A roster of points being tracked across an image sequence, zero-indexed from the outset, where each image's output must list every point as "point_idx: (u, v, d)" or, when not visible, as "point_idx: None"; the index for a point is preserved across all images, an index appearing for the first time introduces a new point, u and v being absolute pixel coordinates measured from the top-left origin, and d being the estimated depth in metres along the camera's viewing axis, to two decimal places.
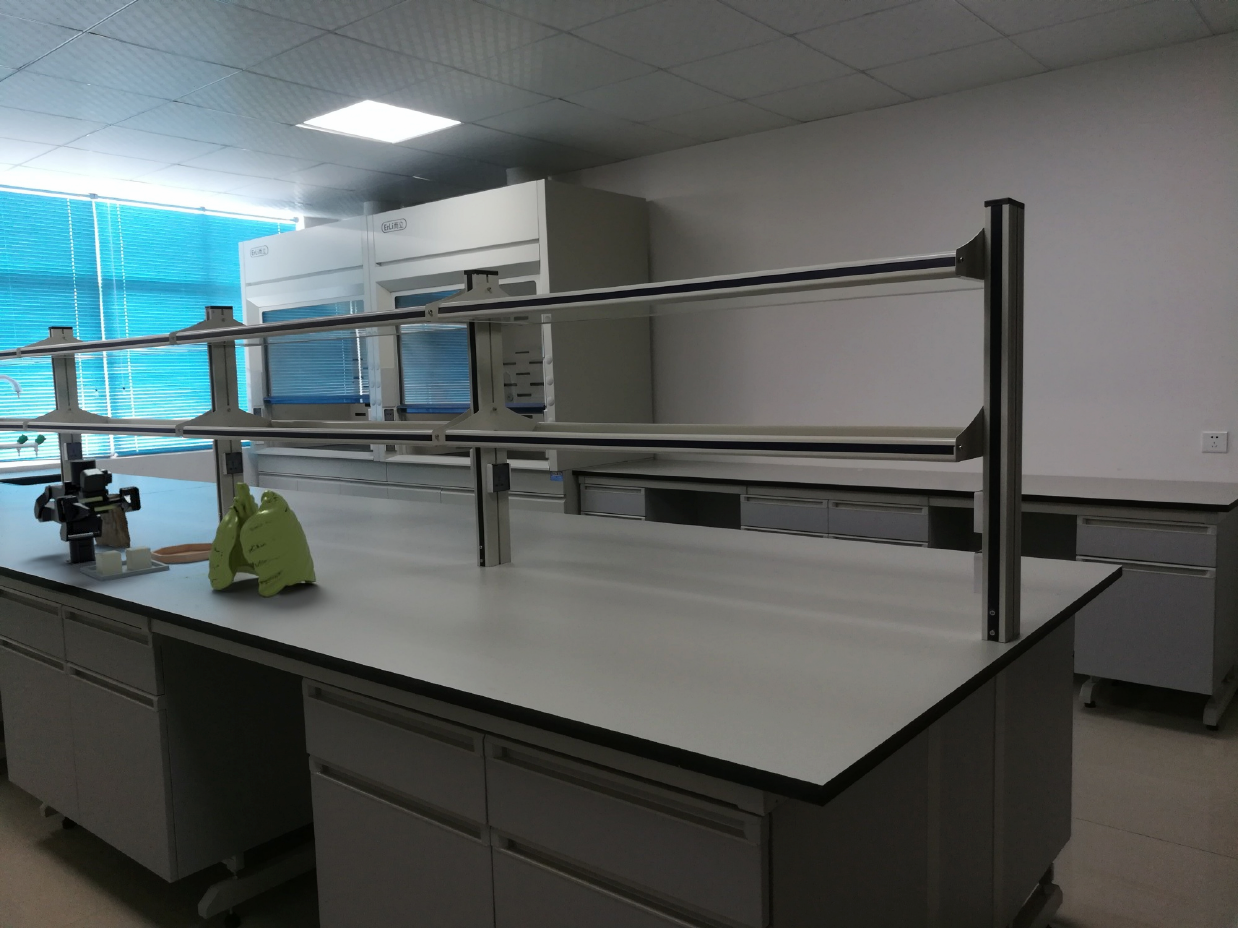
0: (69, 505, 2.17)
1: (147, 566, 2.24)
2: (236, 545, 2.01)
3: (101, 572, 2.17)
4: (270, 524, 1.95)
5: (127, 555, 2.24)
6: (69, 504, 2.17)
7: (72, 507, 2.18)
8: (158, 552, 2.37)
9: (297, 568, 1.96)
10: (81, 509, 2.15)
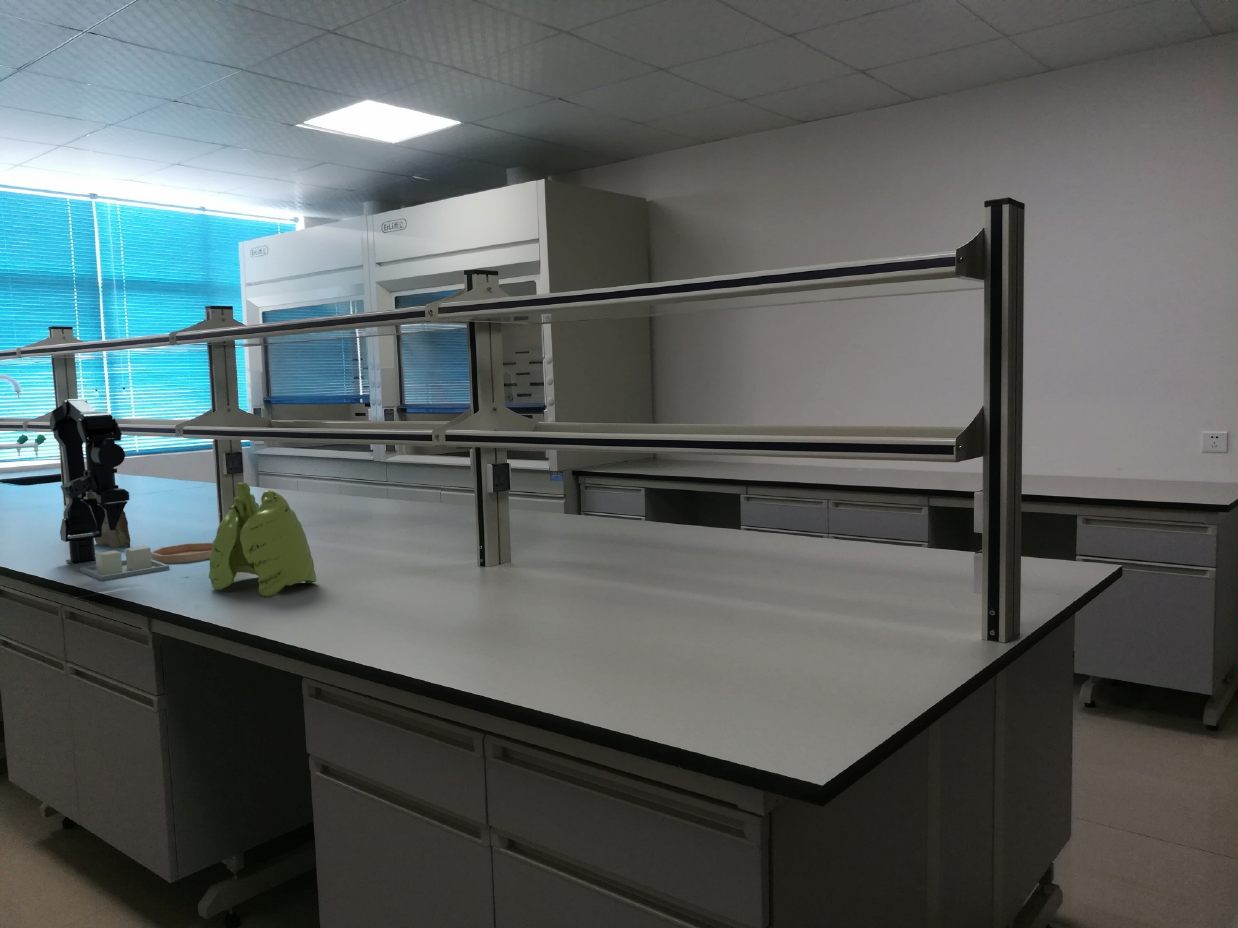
0: None
1: (147, 566, 2.24)
2: (236, 545, 2.02)
3: (101, 572, 2.17)
4: (270, 524, 1.95)
5: (127, 555, 2.24)
6: None
7: None
8: (158, 552, 2.37)
9: (297, 568, 1.96)
10: None
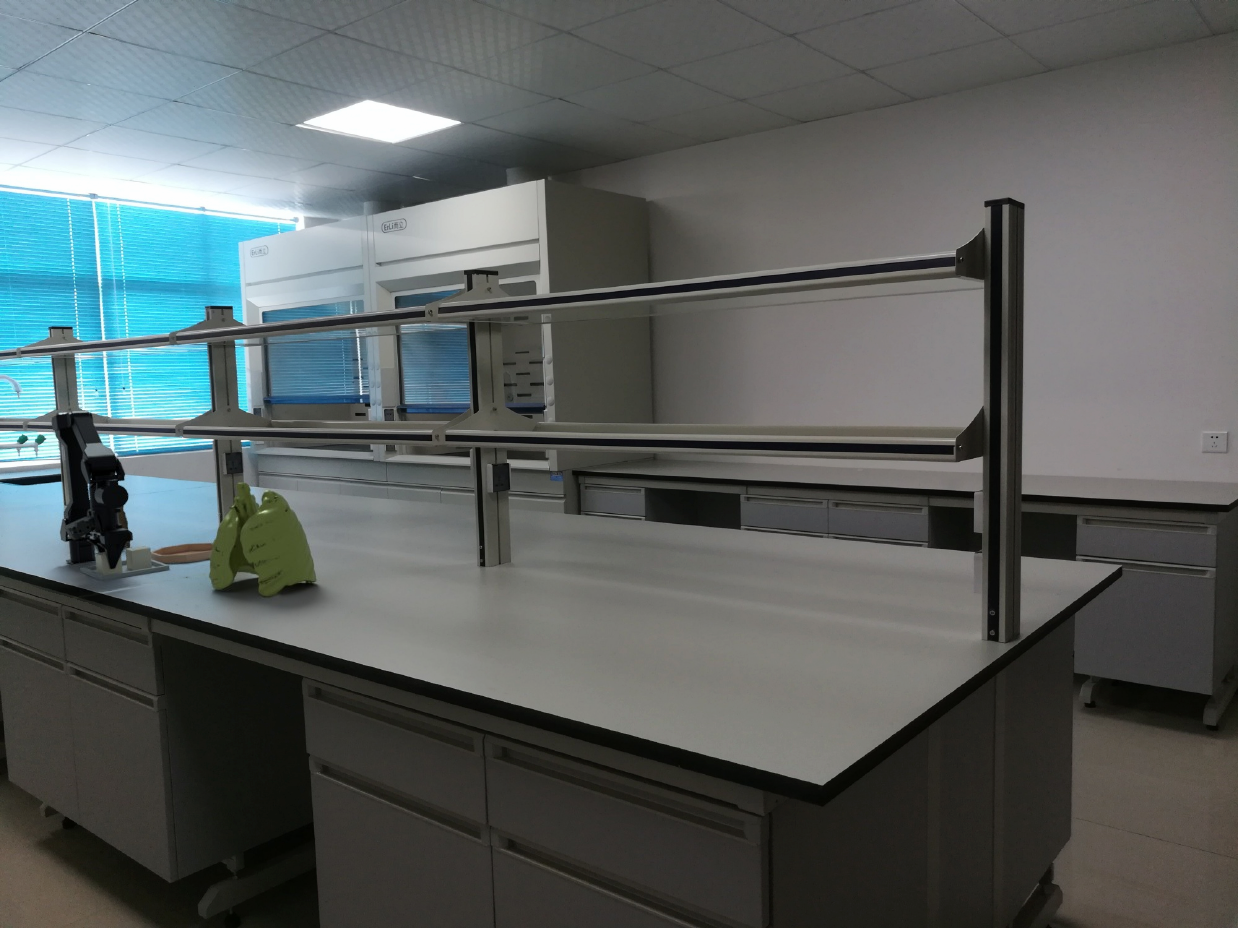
0: None
1: (147, 566, 2.24)
2: (237, 545, 2.02)
3: (101, 572, 2.17)
4: (270, 524, 1.95)
5: (127, 555, 2.24)
6: None
7: None
8: (158, 552, 2.37)
9: (297, 568, 1.96)
10: None
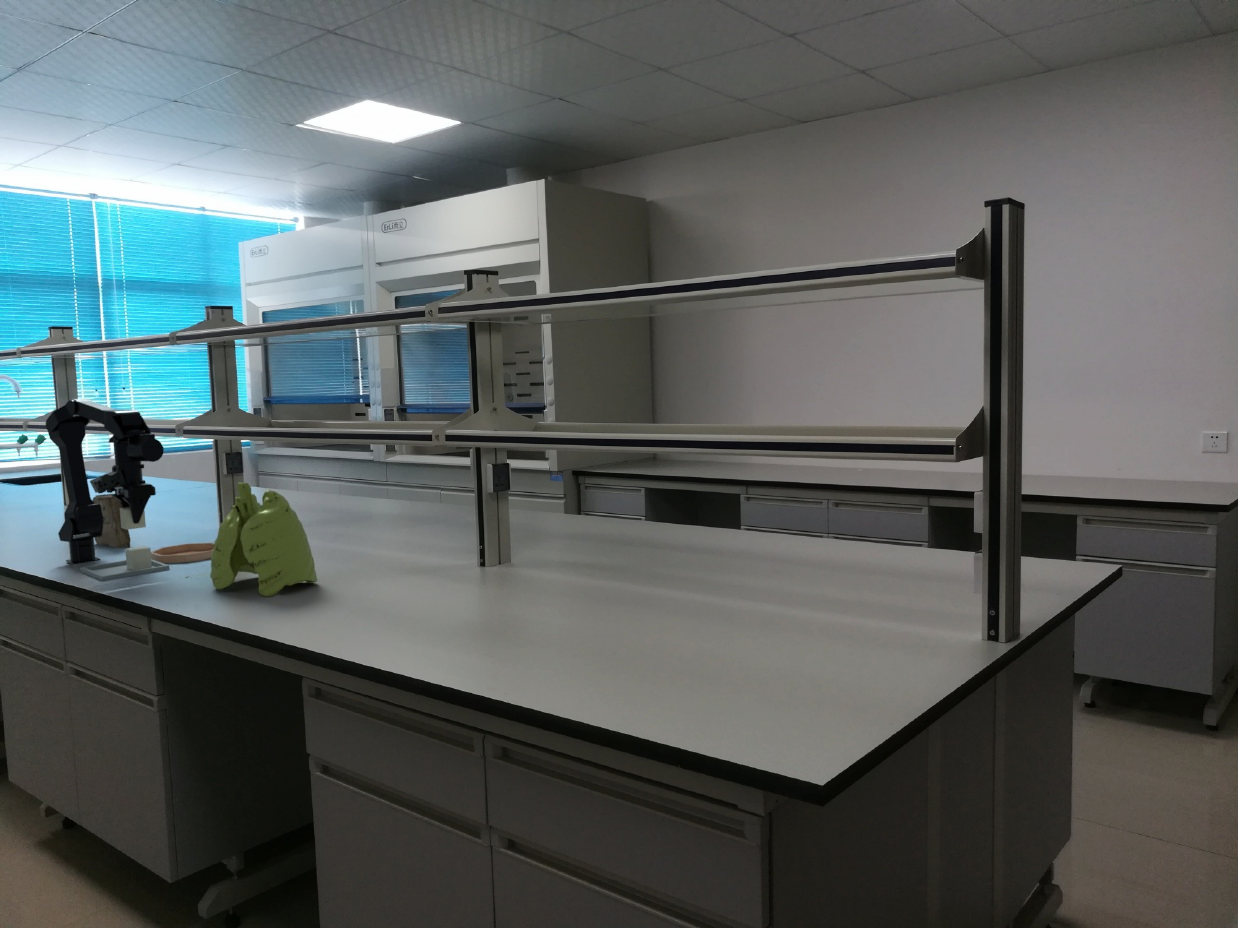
0: None
1: (147, 566, 2.24)
2: (238, 545, 2.02)
3: (125, 526, 2.22)
4: (270, 524, 1.95)
5: (127, 555, 2.24)
6: None
7: None
8: (158, 552, 2.37)
9: (297, 568, 1.96)
10: None
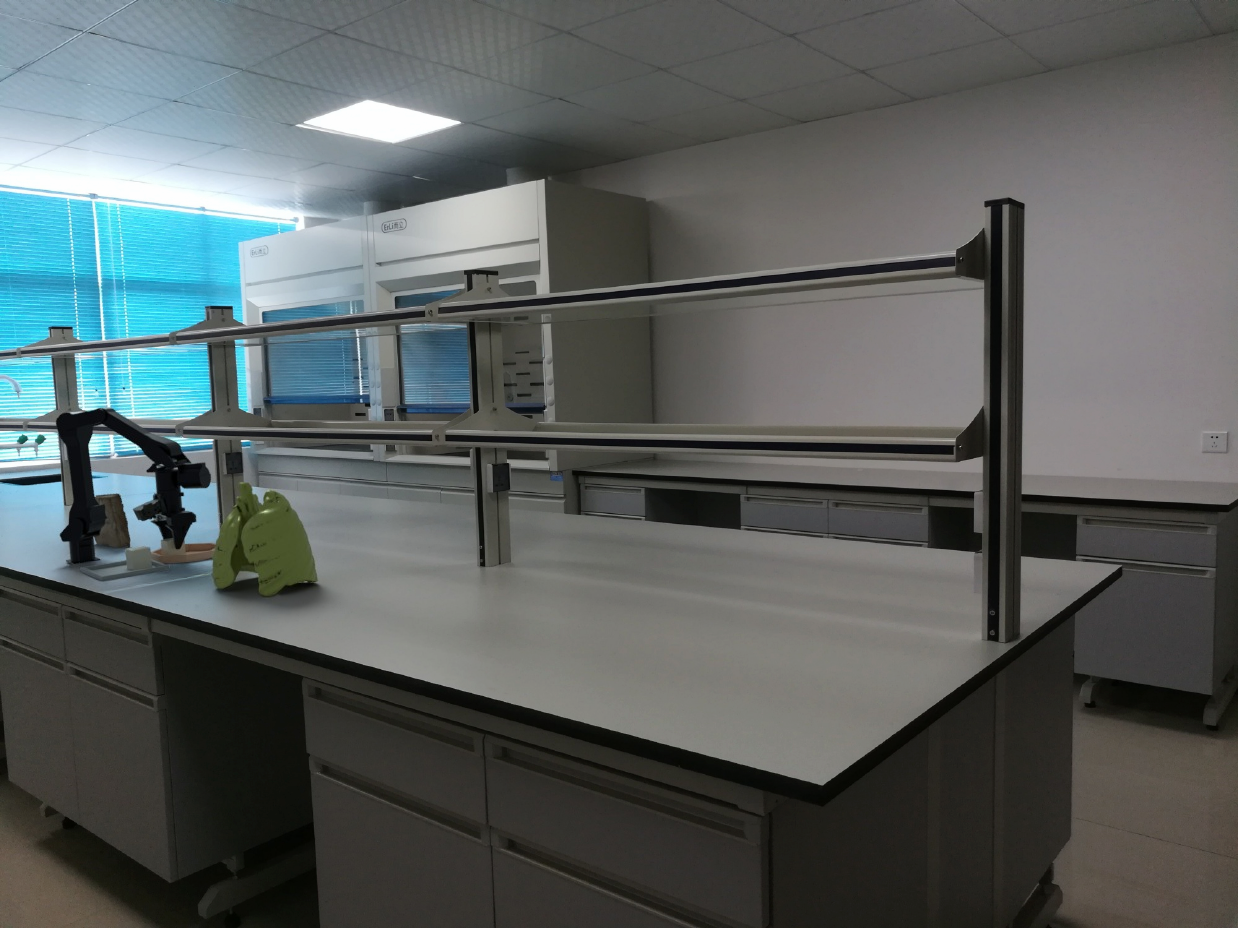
0: None
1: (147, 566, 2.24)
2: (239, 544, 2.02)
3: None
4: (271, 524, 1.96)
5: (127, 555, 2.24)
6: None
7: None
8: (158, 552, 2.37)
9: (297, 568, 1.96)
10: None
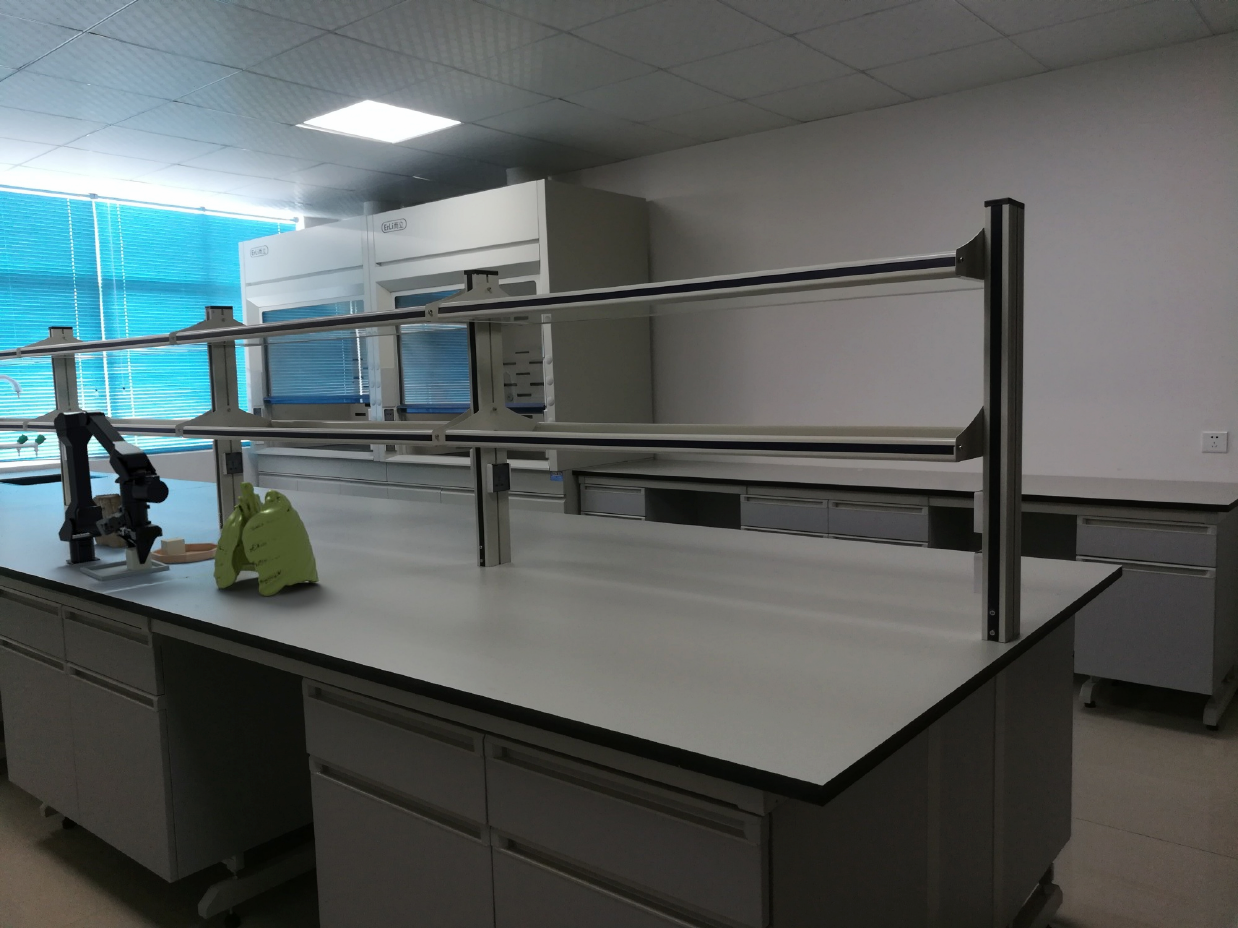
0: None
1: (147, 566, 2.24)
2: (241, 544, 2.03)
3: None
4: (271, 523, 1.96)
5: (127, 555, 2.24)
6: None
7: None
8: (158, 552, 2.37)
9: (297, 568, 1.97)
10: None
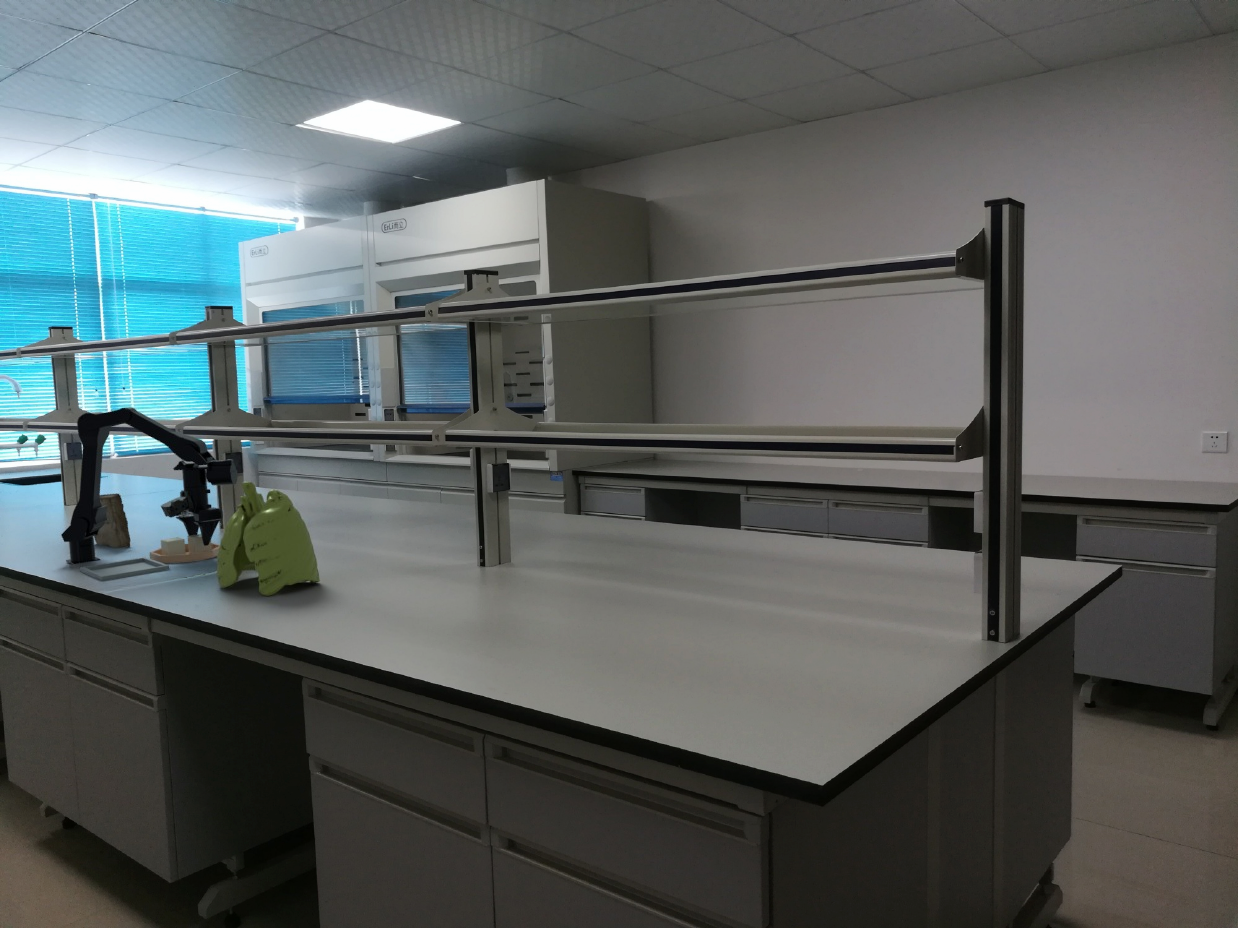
0: None
1: None
2: (243, 543, 2.03)
3: None
4: (272, 523, 1.96)
5: (189, 542, 2.39)
6: None
7: None
8: (158, 552, 2.37)
9: (298, 568, 1.97)
10: None
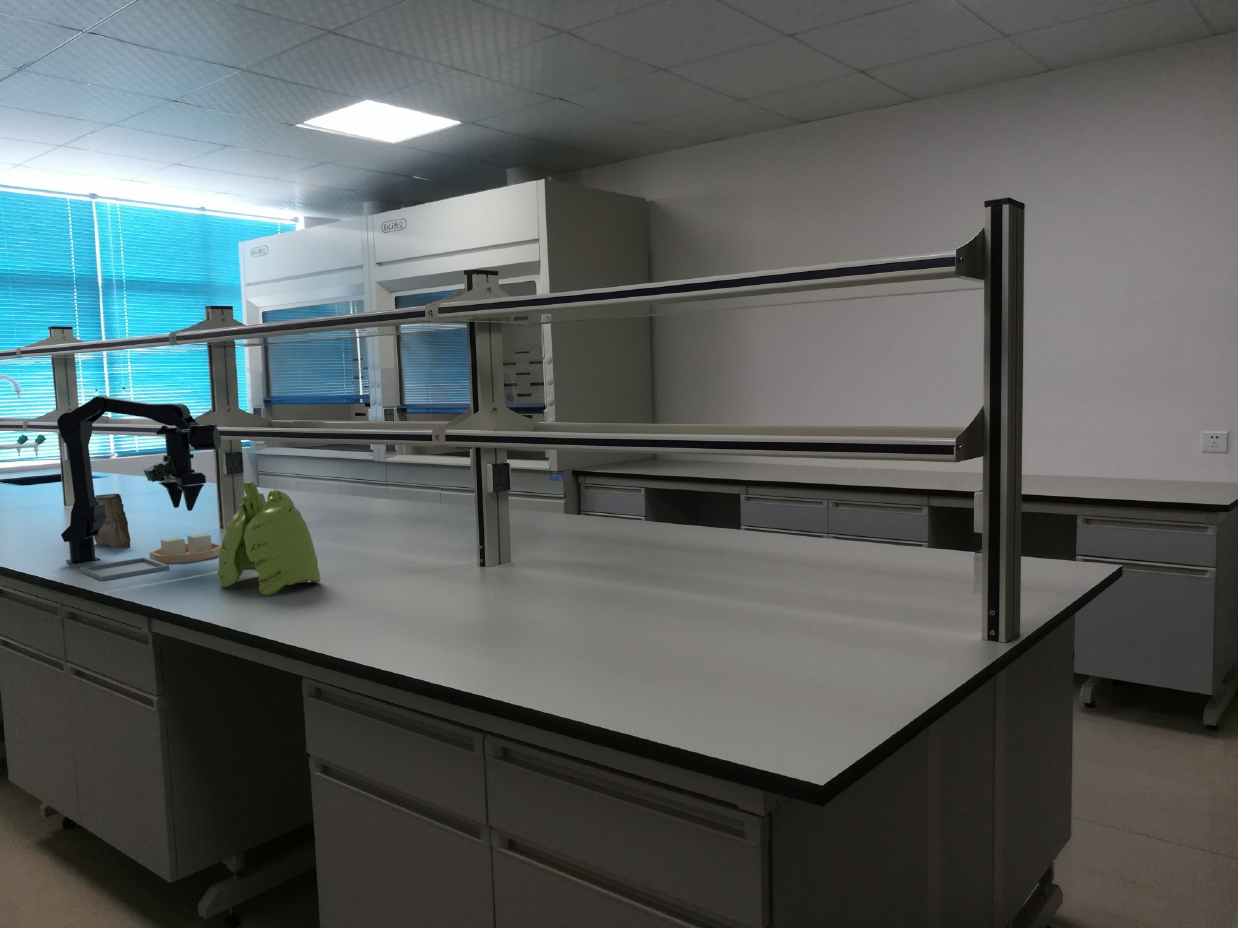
0: None
1: None
2: (244, 543, 2.04)
3: None
4: (272, 523, 1.96)
5: (189, 542, 2.39)
6: None
7: None
8: (158, 552, 2.37)
9: (298, 568, 1.97)
10: None
